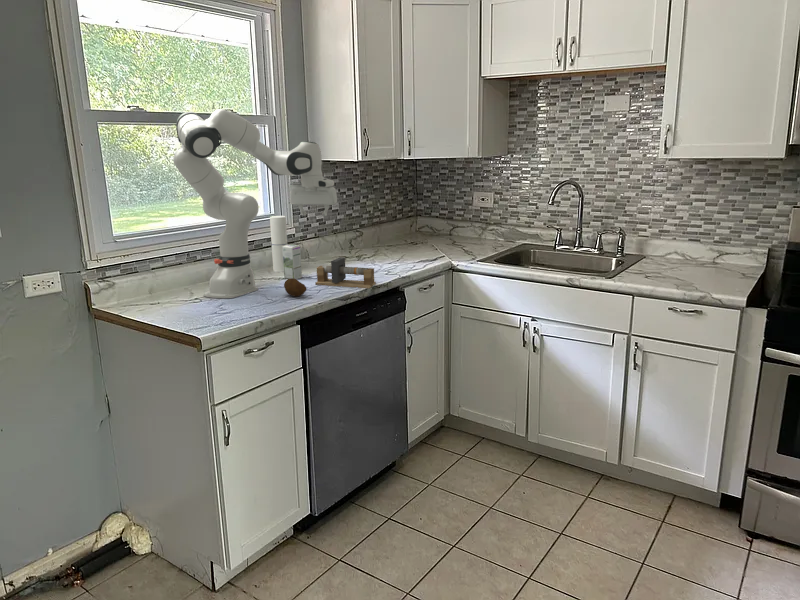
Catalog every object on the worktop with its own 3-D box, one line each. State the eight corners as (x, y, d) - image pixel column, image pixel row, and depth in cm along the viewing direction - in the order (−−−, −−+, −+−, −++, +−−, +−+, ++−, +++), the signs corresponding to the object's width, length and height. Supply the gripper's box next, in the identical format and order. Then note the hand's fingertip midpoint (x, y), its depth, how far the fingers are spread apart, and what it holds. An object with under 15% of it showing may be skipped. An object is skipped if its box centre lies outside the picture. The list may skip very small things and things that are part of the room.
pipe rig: (369, 288, 247) (368, 270, 245) (315, 284, 254) (314, 267, 252) (375, 283, 254) (375, 266, 252) (323, 280, 261) (322, 263, 259)
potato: (298, 300, 230) (297, 282, 229) (277, 295, 237) (276, 278, 235) (311, 296, 236) (310, 278, 234) (290, 292, 242) (289, 275, 241)
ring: (337, 283, 250) (336, 261, 248) (331, 282, 251) (331, 261, 248) (345, 278, 258) (345, 257, 256) (340, 277, 259) (339, 257, 257)
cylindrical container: (270, 271, 281) (266, 217, 274) (279, 268, 287) (276, 215, 281) (282, 272, 278) (278, 218, 271) (292, 269, 284) (288, 216, 277)
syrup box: (302, 277, 268) (300, 245, 264) (293, 280, 263) (291, 247, 259) (292, 276, 270) (290, 244, 267) (283, 278, 266) (281, 246, 262)
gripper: (285, 182, 249) (288, 216, 253) (331, 182, 244) (333, 217, 247) (292, 181, 255) (295, 214, 259) (337, 181, 249) (339, 215, 253)
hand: (314, 215), depth 253 cm, fingers open, 8 cm apart
